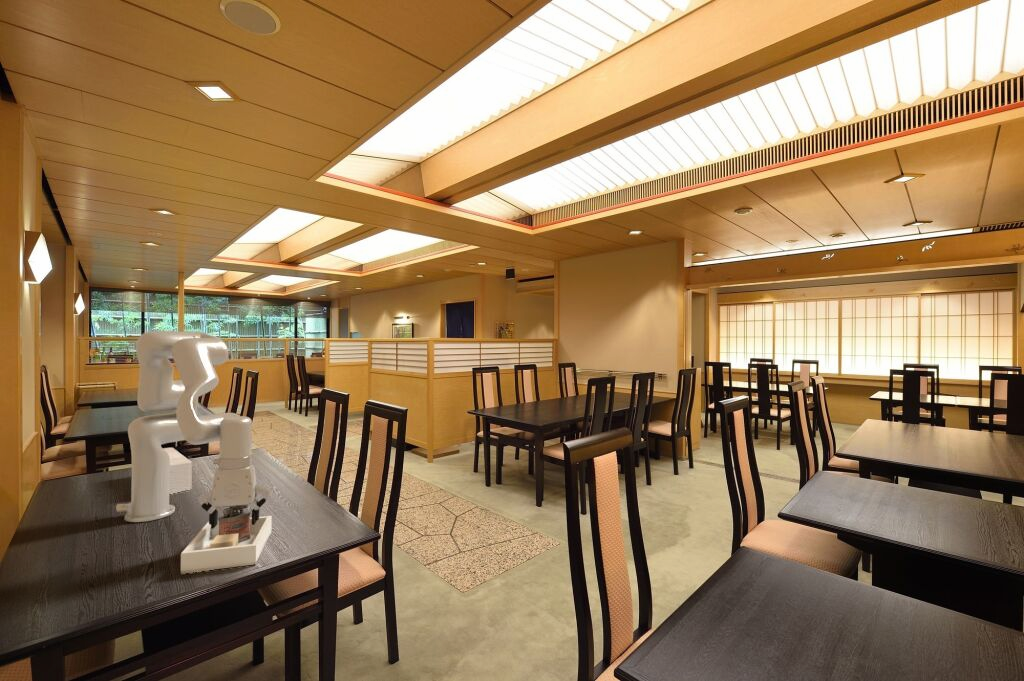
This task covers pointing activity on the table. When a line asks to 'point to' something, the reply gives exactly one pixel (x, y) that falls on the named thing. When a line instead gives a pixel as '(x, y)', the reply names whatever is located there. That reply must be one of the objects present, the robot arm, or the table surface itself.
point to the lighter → (236, 522)
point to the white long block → (179, 471)
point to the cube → (224, 541)
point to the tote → (225, 548)
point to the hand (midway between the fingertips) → (234, 524)
